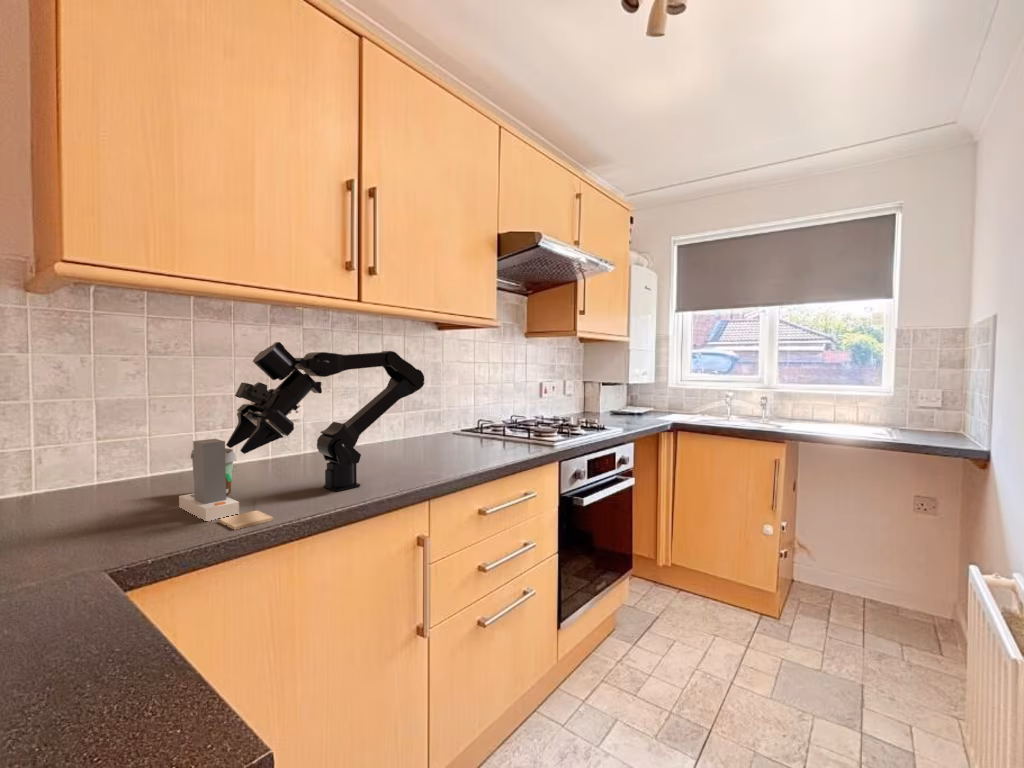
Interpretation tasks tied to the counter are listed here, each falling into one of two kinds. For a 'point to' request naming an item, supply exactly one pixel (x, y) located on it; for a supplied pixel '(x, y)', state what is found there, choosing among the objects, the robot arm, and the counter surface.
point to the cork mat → (245, 519)
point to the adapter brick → (209, 470)
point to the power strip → (209, 507)
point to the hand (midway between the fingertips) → (234, 449)
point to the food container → (229, 464)
